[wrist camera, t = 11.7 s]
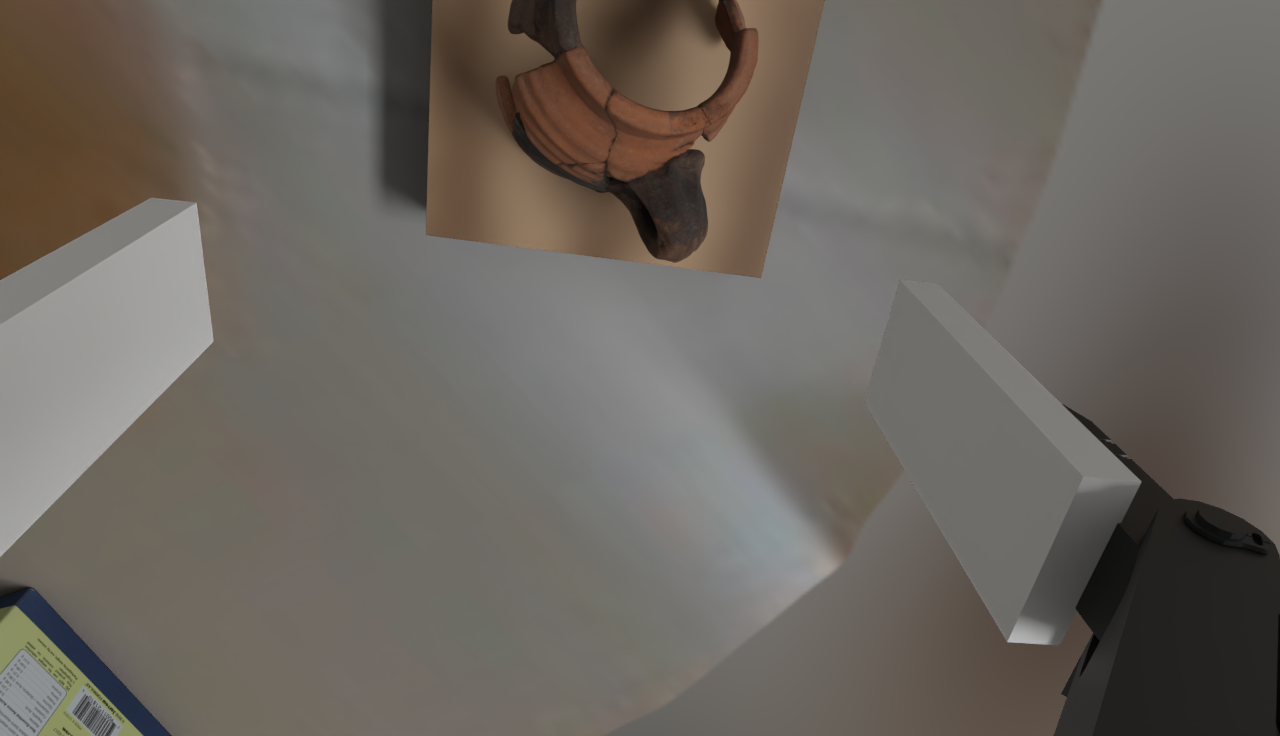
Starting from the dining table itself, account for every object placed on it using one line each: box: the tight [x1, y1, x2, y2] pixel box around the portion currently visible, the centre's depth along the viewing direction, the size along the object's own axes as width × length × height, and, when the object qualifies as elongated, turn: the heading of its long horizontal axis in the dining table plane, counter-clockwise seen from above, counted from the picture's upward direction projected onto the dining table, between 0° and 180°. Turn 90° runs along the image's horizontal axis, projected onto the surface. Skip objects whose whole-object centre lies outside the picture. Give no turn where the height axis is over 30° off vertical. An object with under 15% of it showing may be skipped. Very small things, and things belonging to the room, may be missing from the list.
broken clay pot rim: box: [495, 0, 759, 263], centre depth 30 cm, size 12×10×8 cm
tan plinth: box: [426, 0, 825, 278], centre depth 34 cm, size 15×15×3 cm
